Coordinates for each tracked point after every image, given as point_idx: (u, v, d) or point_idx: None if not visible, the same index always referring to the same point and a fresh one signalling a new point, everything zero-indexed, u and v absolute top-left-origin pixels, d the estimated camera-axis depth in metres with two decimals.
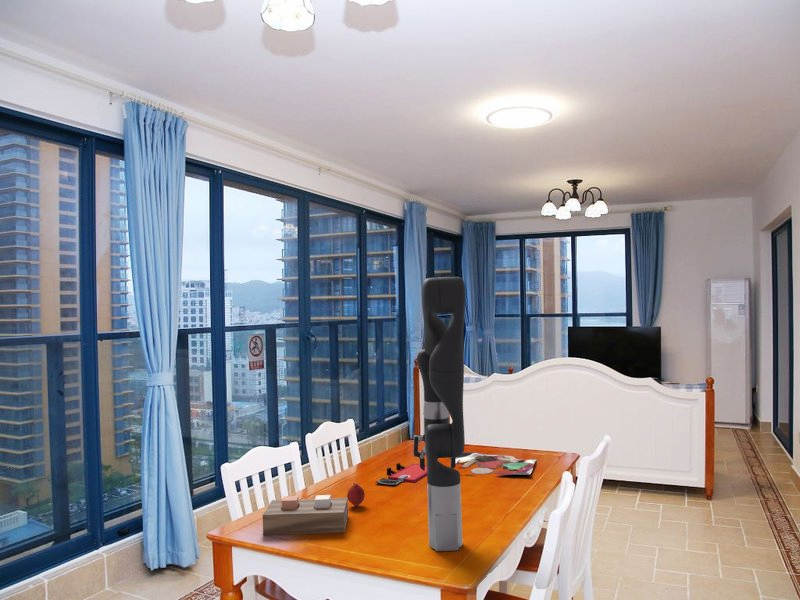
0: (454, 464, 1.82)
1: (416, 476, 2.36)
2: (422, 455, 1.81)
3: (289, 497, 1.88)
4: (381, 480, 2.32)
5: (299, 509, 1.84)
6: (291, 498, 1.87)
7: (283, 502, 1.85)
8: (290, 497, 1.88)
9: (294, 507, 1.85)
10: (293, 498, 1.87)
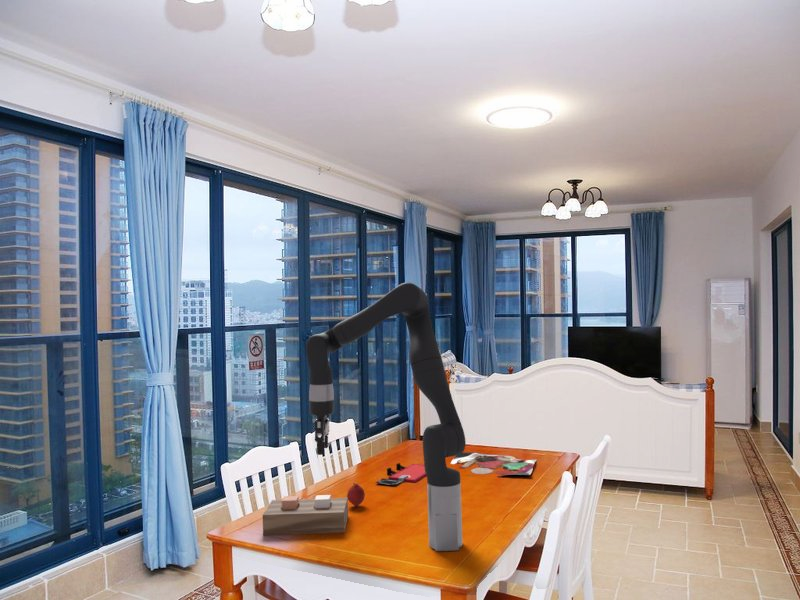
0: None
1: (416, 476, 2.36)
2: (324, 438, 1.83)
3: (289, 497, 1.88)
4: (381, 480, 2.32)
5: (299, 509, 1.84)
6: (291, 498, 1.87)
7: (283, 502, 1.85)
8: (290, 497, 1.88)
9: (294, 507, 1.85)
10: (293, 498, 1.87)
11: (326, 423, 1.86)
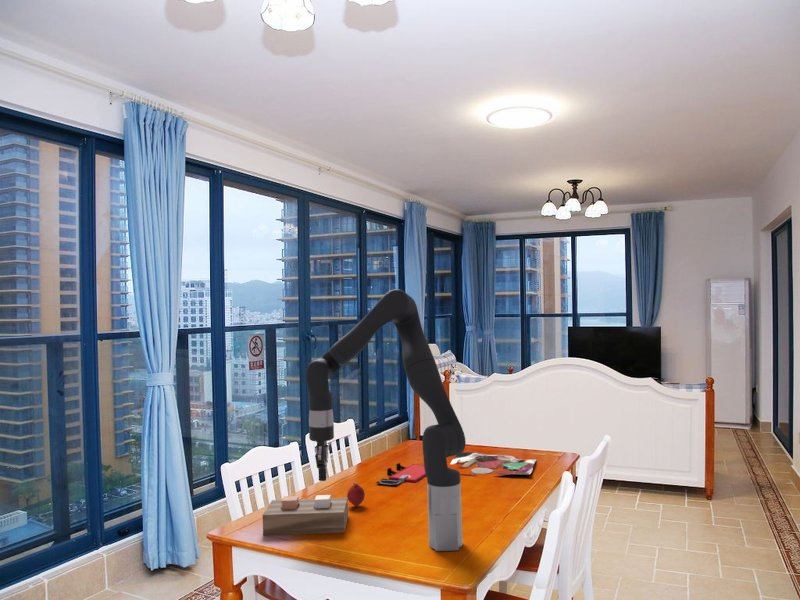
0: None
1: (417, 476, 2.36)
2: (326, 465, 1.87)
3: (289, 497, 1.88)
4: (382, 480, 2.32)
5: (299, 509, 1.84)
6: (291, 498, 1.87)
7: (283, 502, 1.85)
8: (290, 497, 1.88)
9: (294, 507, 1.85)
10: (293, 498, 1.87)
11: (326, 450, 1.86)
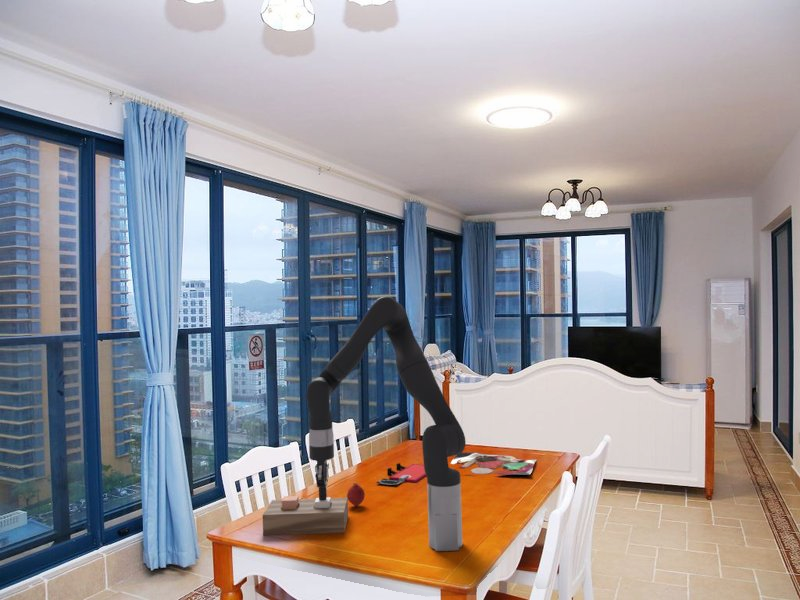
0: None
1: (417, 476, 2.36)
2: (326, 484, 1.87)
3: (289, 497, 1.88)
4: (382, 480, 2.32)
5: (299, 509, 1.84)
6: (291, 498, 1.87)
7: (283, 502, 1.85)
8: (290, 497, 1.88)
9: (294, 507, 1.85)
10: (293, 498, 1.87)
11: (326, 469, 1.86)
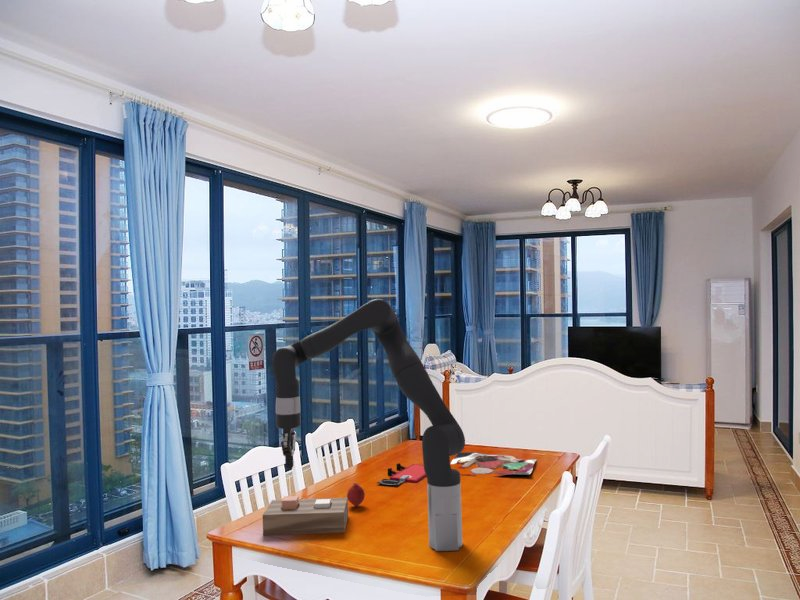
0: None
1: (417, 476, 2.35)
2: (292, 452, 1.87)
3: (289, 497, 1.88)
4: (383, 481, 2.31)
5: (299, 509, 1.84)
6: (291, 498, 1.87)
7: (283, 502, 1.85)
8: (290, 497, 1.88)
9: (294, 507, 1.85)
10: (293, 498, 1.87)
11: (293, 438, 1.86)
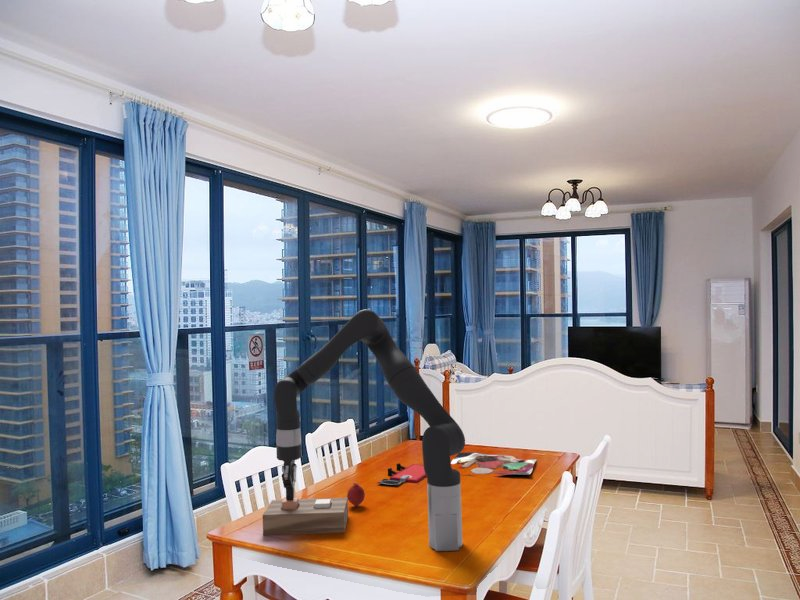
0: None
1: (418, 476, 2.35)
2: (293, 484, 1.87)
3: None
4: (383, 481, 2.31)
5: (299, 509, 1.84)
6: None
7: (283, 503, 1.85)
8: None
9: (294, 508, 1.85)
10: (293, 499, 1.87)
11: (293, 469, 1.86)
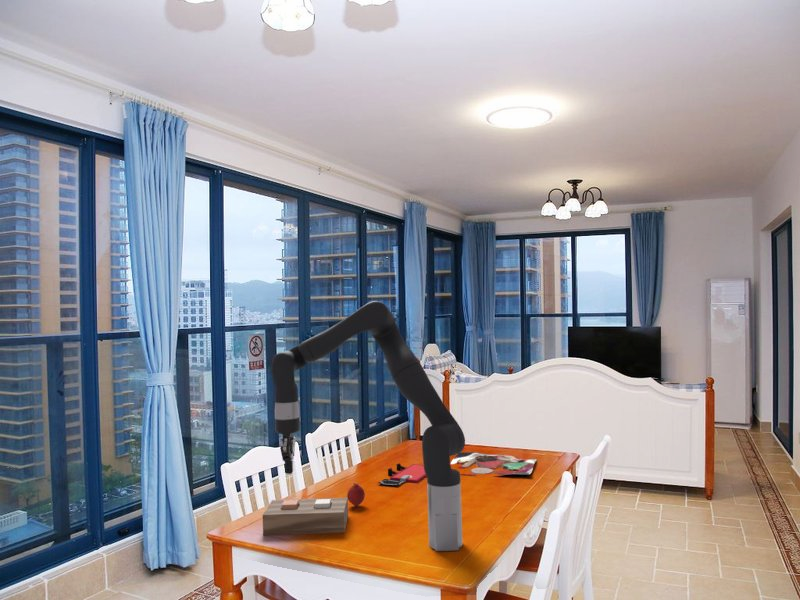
0: None
1: (418, 476, 2.35)
2: (292, 457, 1.87)
3: (289, 501, 1.88)
4: (383, 481, 2.31)
5: (299, 509, 1.84)
6: (291, 502, 1.87)
7: (283, 506, 1.85)
8: (290, 501, 1.88)
9: None
10: (293, 502, 1.87)
11: (292, 443, 1.86)
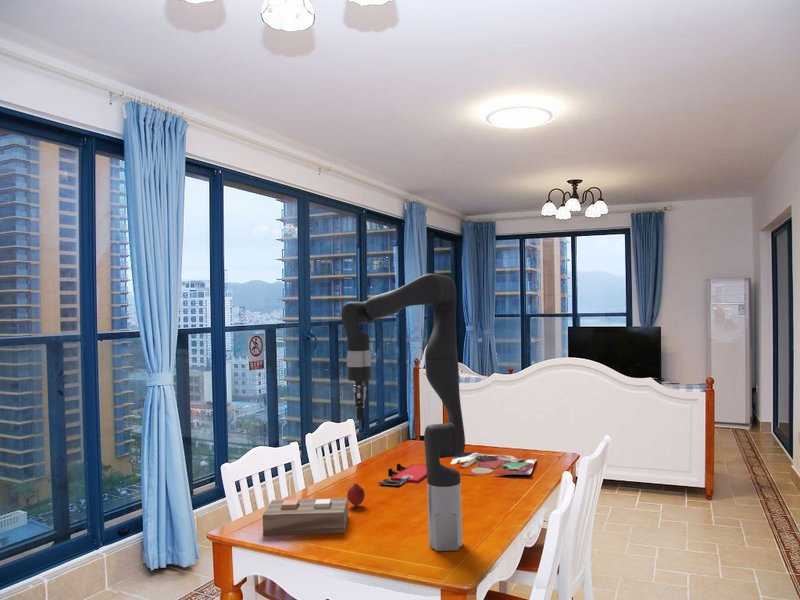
0: None
1: (419, 476, 2.35)
2: None
3: (289, 501, 1.88)
4: (384, 481, 2.31)
5: (299, 509, 1.84)
6: (291, 502, 1.87)
7: (283, 506, 1.85)
8: (290, 501, 1.88)
9: None
10: (293, 502, 1.87)
11: (364, 390, 1.91)
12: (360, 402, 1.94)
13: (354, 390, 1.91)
